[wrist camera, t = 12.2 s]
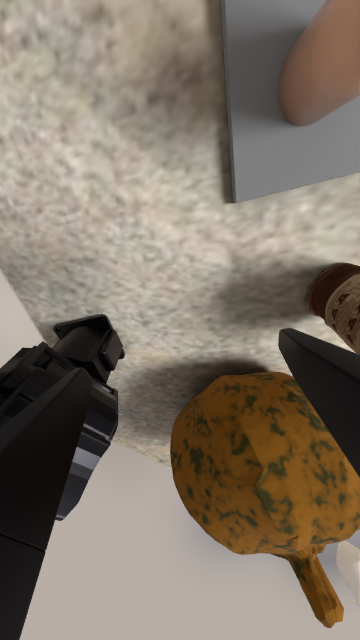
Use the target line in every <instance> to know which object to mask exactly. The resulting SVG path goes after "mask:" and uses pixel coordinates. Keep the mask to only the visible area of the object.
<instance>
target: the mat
mask: <svg viewBox="0 0 360 640" xmlns="http://www.w3.org/2000/svg"><path fill="white" fill-rule="evenodd" d="M325 1H326V0H220V5H221V21H222V37H223V53H224V68H225V84H226V100H227V115H228V131H229V147H230V162H231V178H232V194H233V203H238V202H242V201H246V200H250V199H254V198H258V197H262V196H266V195H270V194H274V193H278V192H282V191H286V190H290V189H294V188H298V187H302V186H306V185H310V184H314V183H318V182H322V181H326V180H330V179H334V178H338V177H342V176H346V175H350V174H354V173H358V172H360V96H358V97H357V98H355V99H353V100H352V101H350V102H348V103H347V104H345V105H343V106H342V107H340V108H338V109H337V110H335V111H334V112H332V113H330V114H329V115H327V116H325V117H324V118H322V119H320V120H319V121H317V122H315V123H313V124H311V125H308V126H296V125H293V124H291V123H290V122H289V121H288V120H287V119H286V118H285V117H284V115H283V113H282V111H281V108H280V105H279V99H278V85H279V78H280V73H281V70H282V67H283V64H284V61H285V59H286V57H287V55H288V53H289V51H290V49H291V48H292V46H293V45H294V43H295V42H296V41H297V39H298V38H299V36H300V35H301V34H302V32H303V31H304V30H305V28H306V27H307V26H308V24H309V23H310V22H311V20H312V19H313V17H314V16H315V15H316V13H317V12H318V11H319V9H320V8H321V7H322V5H323V4H324V3H325Z"/></svg>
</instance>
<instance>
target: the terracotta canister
mask: <svg viewBox="0 0 360 640" xmlns="http://www.w3.org/2000/svg"><path fill="white" fill-rule="evenodd" d="M358 96H360V0H326V1H325V3H324V4H323V5H322V7H321V8H320V9H319V11H318V12H317V13H316V15H315V16H314V17H313V19H312V20H311V22H310V23H309V24H308V26H307V27H306V28H305V30H304V31H303V32H302V34H301V35H300V36H299V38H298V39H297V41H296V42H295V43H294V45H293V46H292V48H291V49H290V51H289V53H288V55H287V57H286V59H285V61H284V64H283V67H282V70H281V73H280V78H279V85H278V99H279V105H280V108H281V111H282V113H283V115H284V117H285V118H286V119H287V120H288V121H289V122H290V123H291V124H293V125H296V126H308V125H311V124H313V123H315V122H317V121H319V120H320V119H322V118H324V117H325V116H327V115H329V114H330V113H332V112H334V111H335V110H337V109H338V108H340V107H342V106H343V105H345V104H347V103H348V102H350V101H352V100H353V99H355V98H357V97H358Z"/></svg>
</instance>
